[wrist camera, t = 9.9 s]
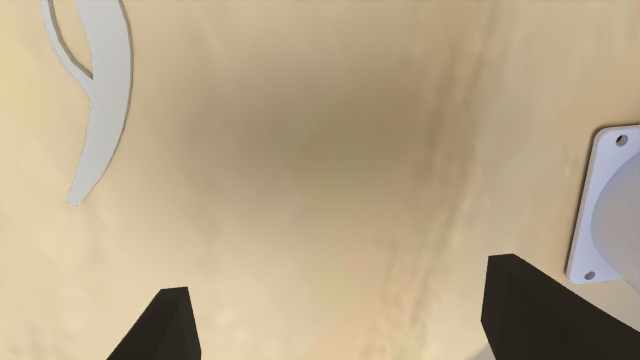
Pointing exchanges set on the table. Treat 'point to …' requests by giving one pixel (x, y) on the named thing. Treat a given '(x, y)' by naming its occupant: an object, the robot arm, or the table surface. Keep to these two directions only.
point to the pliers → (98, 83)
